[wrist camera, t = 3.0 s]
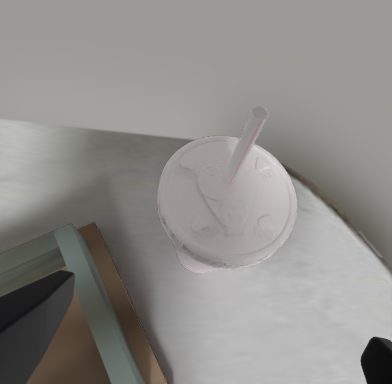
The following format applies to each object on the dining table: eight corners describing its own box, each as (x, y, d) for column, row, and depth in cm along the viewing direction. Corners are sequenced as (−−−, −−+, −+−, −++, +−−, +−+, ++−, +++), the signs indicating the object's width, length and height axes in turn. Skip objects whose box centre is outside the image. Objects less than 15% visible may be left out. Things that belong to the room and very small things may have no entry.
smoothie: (235, 208, 22) (331, 60, 10) (247, 290, 20) (399, 226, 7) (157, 209, 22) (155, 49, 9) (157, 296, 19) (155, 232, 6)
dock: (173, 396, 16) (178, 419, 12) (-57, 562, 13) (-164, 679, 8) (97, 227, 20) (82, 201, 16) (-95, 315, 17) (-180, 310, 12)
